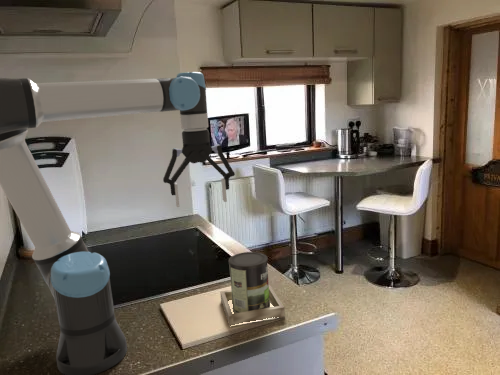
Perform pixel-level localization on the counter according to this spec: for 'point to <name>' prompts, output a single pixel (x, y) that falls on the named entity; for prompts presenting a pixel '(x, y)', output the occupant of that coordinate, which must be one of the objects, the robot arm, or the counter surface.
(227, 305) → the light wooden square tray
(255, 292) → the coffee can
